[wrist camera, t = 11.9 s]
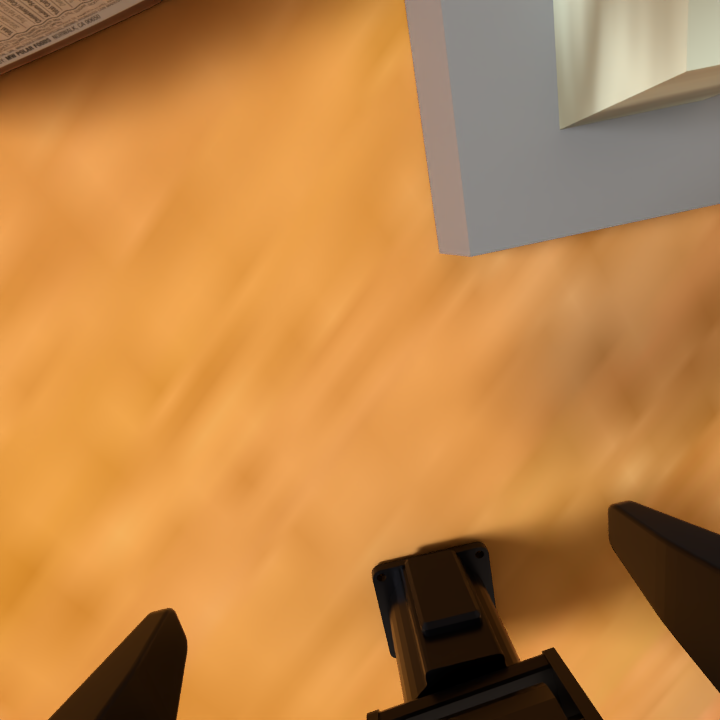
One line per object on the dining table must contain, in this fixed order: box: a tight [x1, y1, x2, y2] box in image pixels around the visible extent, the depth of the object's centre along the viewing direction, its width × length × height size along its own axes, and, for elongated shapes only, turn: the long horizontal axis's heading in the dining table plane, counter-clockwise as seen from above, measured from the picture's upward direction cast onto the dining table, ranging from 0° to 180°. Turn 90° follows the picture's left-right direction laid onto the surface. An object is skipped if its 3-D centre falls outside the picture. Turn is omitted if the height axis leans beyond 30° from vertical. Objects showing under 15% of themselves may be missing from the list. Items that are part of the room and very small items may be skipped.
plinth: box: [405, 0, 720, 257], centre depth 15 cm, size 12×12×4 cm
